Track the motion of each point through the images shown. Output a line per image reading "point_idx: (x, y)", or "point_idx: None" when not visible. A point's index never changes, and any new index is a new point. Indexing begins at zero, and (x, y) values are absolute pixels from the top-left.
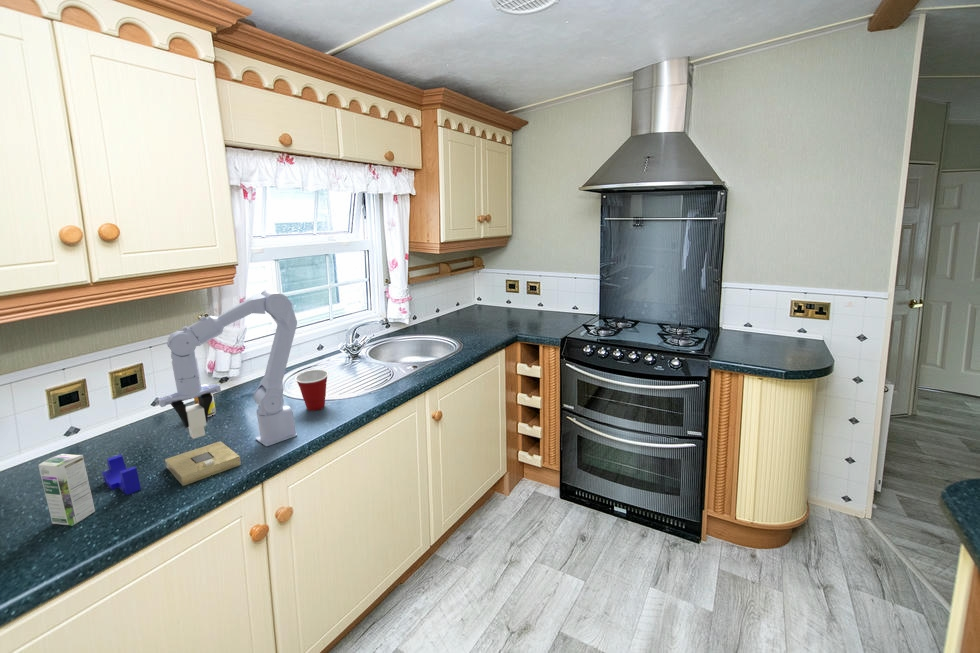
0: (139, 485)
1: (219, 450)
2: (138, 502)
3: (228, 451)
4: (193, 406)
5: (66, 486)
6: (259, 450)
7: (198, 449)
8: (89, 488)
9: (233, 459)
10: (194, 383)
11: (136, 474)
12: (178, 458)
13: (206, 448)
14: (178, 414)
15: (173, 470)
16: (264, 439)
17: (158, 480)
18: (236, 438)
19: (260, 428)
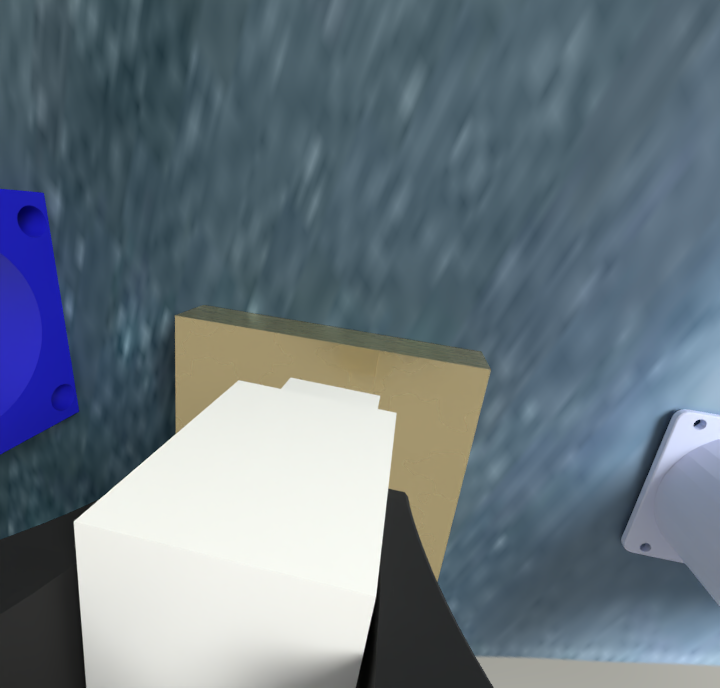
0: (59, 421)
1: (409, 480)
2: (59, 494)
3: (429, 532)
4: (246, 653)
5: None
6: (571, 538)
7: (346, 362)
8: None
9: None
10: None
11: (2, 450)
12: (227, 376)
13: (380, 393)
14: (62, 520)
15: None
16: (663, 524)
17: (145, 397)
18: (632, 284)
19: (716, 560)
